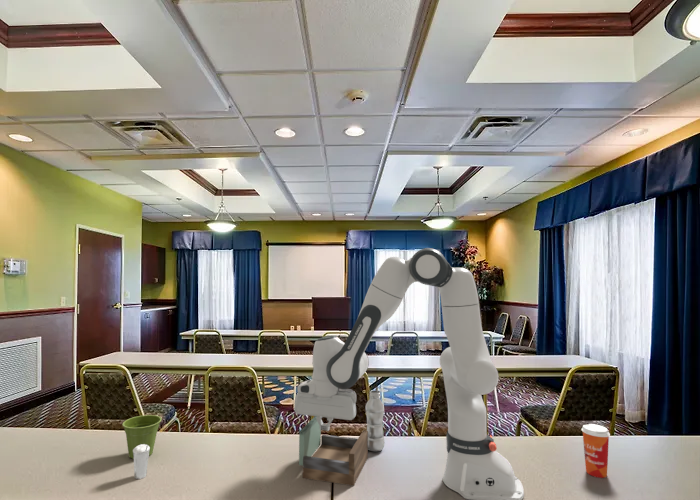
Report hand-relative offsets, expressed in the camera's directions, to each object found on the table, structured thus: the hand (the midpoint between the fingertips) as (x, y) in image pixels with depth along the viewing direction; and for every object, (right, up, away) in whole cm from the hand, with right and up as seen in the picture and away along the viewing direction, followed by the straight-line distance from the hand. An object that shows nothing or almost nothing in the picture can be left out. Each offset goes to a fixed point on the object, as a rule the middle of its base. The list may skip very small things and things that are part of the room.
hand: (324, 430), depth 131 cm
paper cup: (+85, -12, -4) cm, 86 cm away
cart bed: (+4, -11, -2) cm, 12 cm away
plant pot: (-62, -11, +6) cm, 64 cm away
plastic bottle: (+17, -12, +11) cm, 24 cm away
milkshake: (-55, -11, -8) cm, 56 cm away
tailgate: (-4, -8, +1) cm, 9 cm away
